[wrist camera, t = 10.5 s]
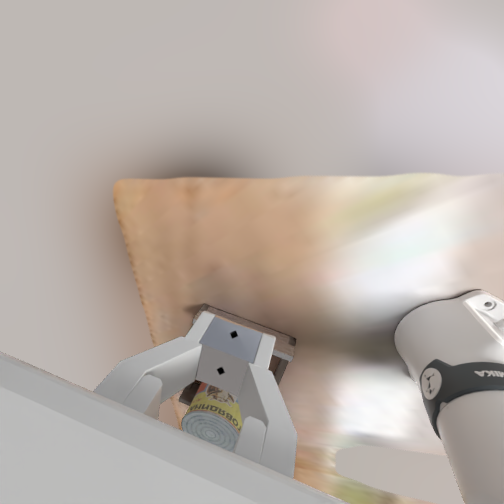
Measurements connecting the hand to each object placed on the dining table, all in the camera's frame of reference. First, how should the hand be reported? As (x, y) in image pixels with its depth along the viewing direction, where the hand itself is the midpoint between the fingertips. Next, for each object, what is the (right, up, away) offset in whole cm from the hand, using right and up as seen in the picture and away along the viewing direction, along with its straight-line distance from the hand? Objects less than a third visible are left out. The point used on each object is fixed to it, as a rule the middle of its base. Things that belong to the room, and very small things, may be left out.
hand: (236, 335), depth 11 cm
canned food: (-4, -24, +48) cm, 54 cm away
